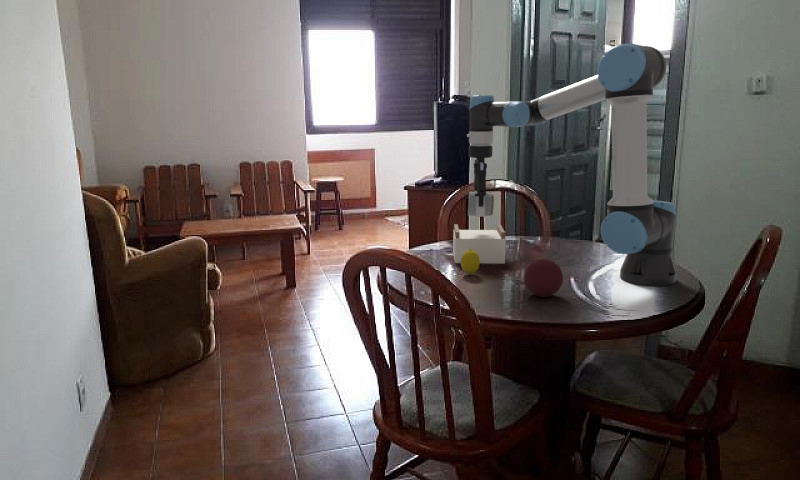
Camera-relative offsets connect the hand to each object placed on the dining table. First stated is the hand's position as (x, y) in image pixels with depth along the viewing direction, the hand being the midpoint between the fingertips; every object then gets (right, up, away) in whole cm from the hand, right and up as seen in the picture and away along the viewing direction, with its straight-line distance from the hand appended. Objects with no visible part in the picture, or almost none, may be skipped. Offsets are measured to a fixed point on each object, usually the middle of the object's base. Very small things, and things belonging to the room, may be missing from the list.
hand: (479, 213), depth 204 cm
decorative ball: (+12, -24, -37) cm, 46 cm away
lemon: (-5, -19, -17) cm, 26 cm away
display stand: (0, -15, +3) cm, 15 cm away
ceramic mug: (0, -1, 0) cm, 1 cm away
